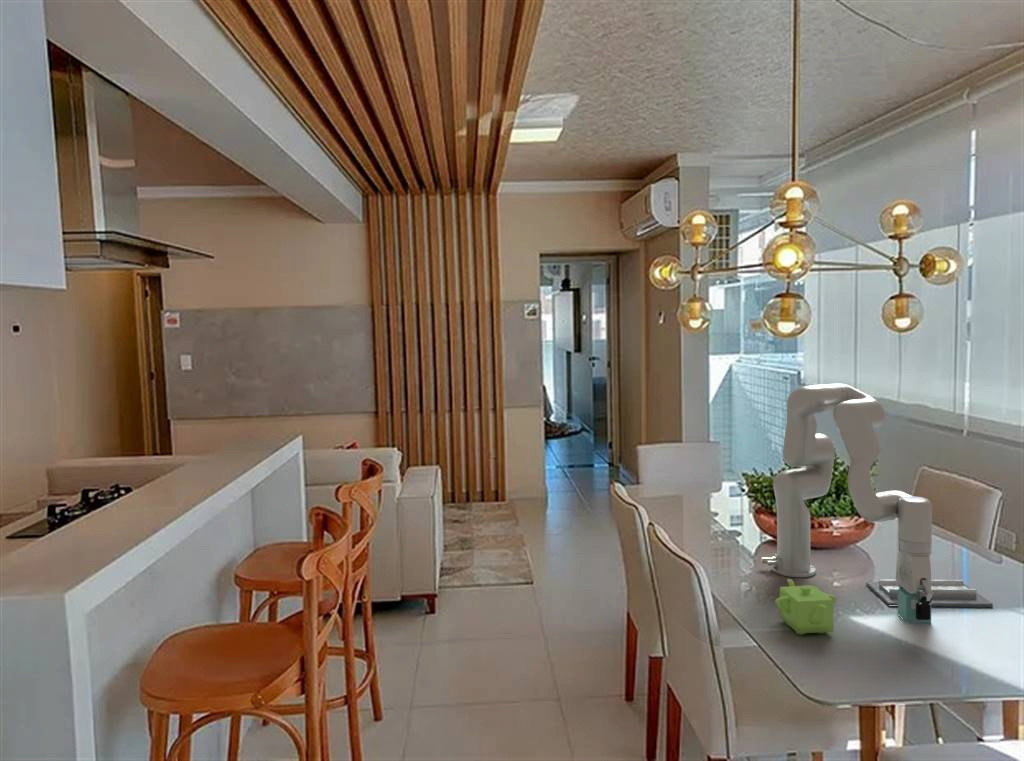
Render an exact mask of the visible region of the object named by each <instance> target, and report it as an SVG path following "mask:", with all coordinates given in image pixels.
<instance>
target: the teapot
mask: <svg viewBox="0 0 1024 761" xmlns="http://www.w3.org/2000/svg"><path fill="white" fill-rule="evenodd" d="M786 580H787V583H788V586H780V587H779V597H777V598H776V599H775V601H774V602H775V604H776V606H777V608H779V617H780V619H781V620H783V621H784V622H785V623H786V624H787V626H789V627H790V628H792V629H793V630H794V632H796V634H797V635H800V636H801V635H802V636H803V635H806V634H816V633H817V634H820V635H821V634H826V633H828V632H829V633H830V632H834V606H835V603H836V601H837V597H836V596H835V595H834V594H828V593H825V592H823V591H822V590H820V589H819V588H817V586H814V585H813V584H812V585H811V584H810V585H796V584H795V582H794V581H793V580H792V578H787V579H786Z"/></svg>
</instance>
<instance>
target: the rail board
mask: <svg viewBox="0 0 1024 761" xmlns="http://www.w3.org/2000/svg"><path fill="white" fill-rule="evenodd" d="M878 580H879V581H865V584H866V585H865V586H866V587H868V589H870V590H871V591H872V592H873V593H874V594H875V595H876V596H877V595H878V596H879V597H880V598H881V600H882V602H884V601H885V602H886V603H887V604H888V605H898V589H899V584H898V583H897V581H896V579H890V578H889V579H888V578H886V579H883V578H881V579H878ZM931 590H932V592H933V595H932V601H931V606H934V607H933V608H936V607H935V606H938V607H937V608H940V607H939V606H942V607H941V608H993V607H994V606H993V605H994V604H993V602H991V601H989V600H988V599H986V598H985V597H984V596H982V595H981V594H979V593H978V592H977V590H978V589H976V588H971V587H970V586H968V585H966V584H965V583H964V580H963V579H931ZM878 596H877V597H878ZM879 597H878V598H879ZM880 598H879V599H880ZM885 602H884V603H885ZM886 603H885V604H886ZM887 604H886V605H887ZM888 605H887V606H888Z"/></svg>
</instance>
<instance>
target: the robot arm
mask: <svg viewBox="0 0 1024 761" xmlns="http://www.w3.org/2000/svg"><path fill="white" fill-rule="evenodd" d="M822 414H823V415H824V414H832V417H833V420H834V423H835V426H836V427H837V430H838V432H839V435H840V437H841V439H842V442H843V445H844V447H845V449H846V452H847V453H848V456H849V458H850V464H849V467H848V473H847V488H848V493H849V495H850V498H851V500H852V502H853V504H854V507H855V509H856V511H857V512H858V514H859V515H860V517H861V518H863V520H865V521H866V522H869V523H873V524H875V523H883V522H888V521H895V520H897V557H896V569H895V580H896V581H897V583H898V584H899V589H905V590H906V591H907V592H909V593H910V594H914V593H915V595H916V599H917V602H918V603H916V619H918V620H930V605H931V601H932V595H933V592H932V590H931V580H932V566H931V565H932V564H931V555H932V553H933V552H932V551H933V549H932V548H933V547H932V546H933V545H932V544H933V505H932V502H931V500H929V499H928V498H925V497H922V496H914V495H911V494H909V493H908V492H907V493H906V492H905V491H903V490H897V489H896V490H895V489H894V490H893V489H890V490H884V491H878V492H875V489H874V487H873V485H872V482H871V477H870V476H871V475H870V473H871V467H872V466H873V464H874V462H875V461H876V460H878V458H879V457H880V456H882V455H883V453H884V448H883V445H882V443H881V441H880V439H879V437H878V433H877V432H876V430H875V428H879V427H880V426H882V425H883V423H884V422H885V419H886V411H885V409H884V407H883V405H882V403H880V401H878V400H877V399H876V398H874V397H873V396H871V395H869V394H866V393H865V392H862V391H861V390H859V389H857V388H854V387H853V386H850V385H848V384H845V383H838V382H837V383H823V384H811V385H805V386H804V385H803V386H800V387H798V388H795V389H794V390H793V391H791V392H790V394H789V396H788V398H787V401H786V425H785V426H786V427H785V433H784V438H783V448H782V458H783V461H784V462H785V464H786V465H788V466H790V467H794V468H792V469H791V468H790V469H785V470H782V471H780V472H779V473H777V474H776V476H775V477H774V478H773V483H772V487H773V488H772V489H773V492H774V498H775V503H776V533H777V534H776V547H777V548H776V549H777V550H776V552H777V553H774V556H771V557H765V556H763V557H760V561H761V564H764V565H767V566H771V569H772V571H773V572H774V573H776V574H778V575H780V576H785V577H789V578H790V577H791V578H809V577H813V576H814V575H815V574H817V569H816V567H815V566H813V565H812V564H811V514H810V510H809V508H808V506H807V505H806V503H805V500H810V499H814V498H815V499H816V498H820V497H823V496H824V495H826V494H827V493H828V492H829V490H830V488H831V483H832V479H833V478H832V476H833V470H834V463H835V457H836V451H835V450H836V449H835V446H834V443H833V441H832V439H831V438H830V437H829V436H828V435H827V434H824V433H820V432H819V433H818V432H817V428H818V424H817V418H816V417H815V415H822ZM918 590H922V591H918ZM920 595H925V596H923V597H922V598H920Z"/></svg>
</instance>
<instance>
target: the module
mask: <svg viewBox="0 0 1024 761" xmlns="http://www.w3.org/2000/svg"><path fill="white" fill-rule="evenodd" d="M918 591H922V590H918ZM923 596H925V595H920V598H922V597H923ZM916 603H918V602H917V599H916V595H915V593H914V594H910V593H909V592H907V591H906V590H905V589H898V607H897V615H898V614H899V615H900V616H901V617H902V618H903V619H902V618H901V617H900V616H899V617H900V618H901V619H902V620H903V622H905V623H906V622H909V624H910V623H912V624H913V623H915V622H916V624H918V623H919V624H923V623H924V624H925V623H926V624H932V607H931V605H930V620H918V619H916Z"/></svg>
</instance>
